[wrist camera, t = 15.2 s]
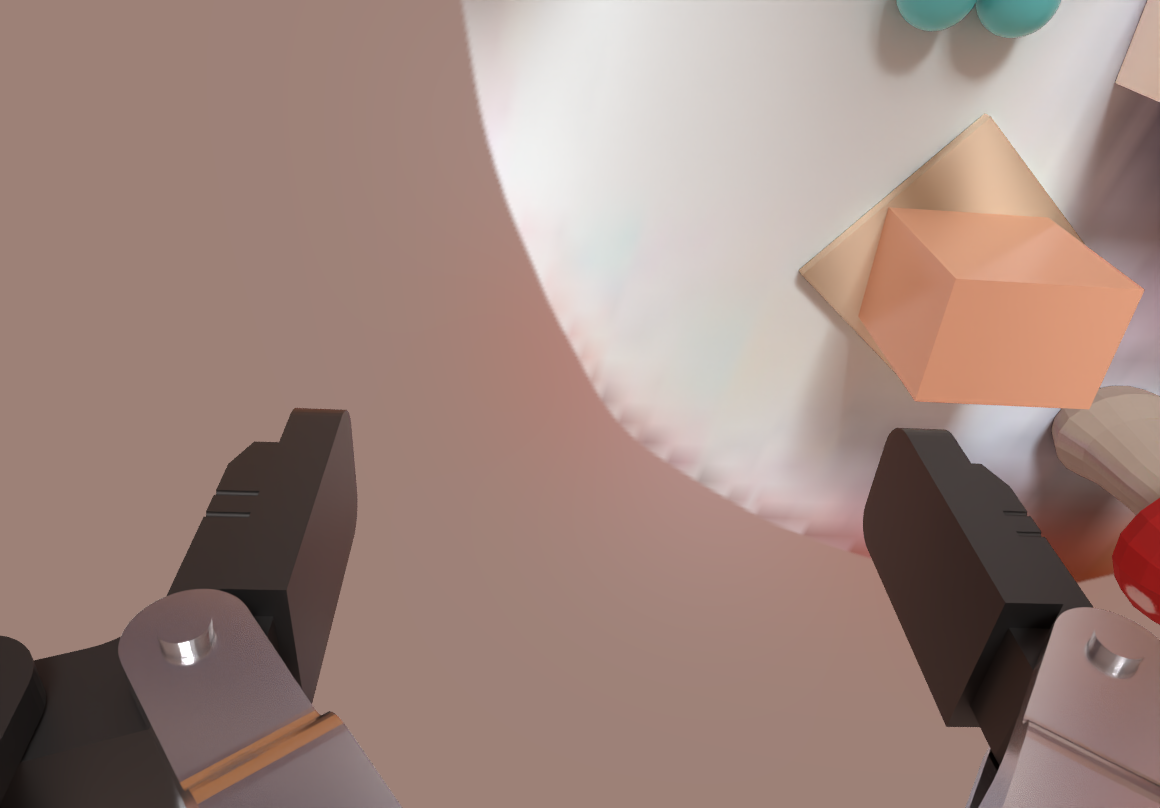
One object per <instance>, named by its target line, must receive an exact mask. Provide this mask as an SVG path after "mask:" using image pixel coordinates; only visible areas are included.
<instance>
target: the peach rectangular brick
mask: <svg viewBox="0 0 1160 808" xmlns="http://www.w3.org/2000/svg"><path fill="white" fill-rule="evenodd" d="M1143 292H1144V289H1143V288H1142V287H1140V286H1139V285H1138V284H1136V283H1135V282H1134V281H1132V280H1131V279H1130V278H1128V277H1127V276H1126V275H1124V274H1123V273H1122V272H1120V271H1119V270H1118V269H1116V268H1115V267H1114V266H1112V265H1111V264H1110V263H1108V262H1107V261H1106V260H1104V259H1103V258H1102V257H1100V256H1099V255H1098V254H1096V253H1095V252H1094V251H1092V250H1091V249H1090V248H1088V247H1087V246H1086V245H1084V244H1083V243H1082V242H1080V241H1079V240H1078V239H1076V238H1075V237H1074V236H1072V235H1071V234H1070V233H1068V232H1067V231H1066V230H1064V229H1063V228H1062V227H1060V226H1059V225H1058V224H1056V223H1055V222H1054V221H1052V220H1051V219H1050V218H1048V217H1033V216H1017V215H1002V214H986V213H971V212H955V211H940V210H924V209H909V208H893V207H888V211H887V214H886V218H885V222H884V225H883V229H882V232H881V236H880V240H879V243H878V247H877V250H876V254H875V258H874V261H873V265H872V268H871V272H870V276H869V279H868V283H867V286H866V290H865V294H864V297H863V301H862V304H861V308H860V312H859V315H858V317H859V318H860V320H861V321H862V323H863V324H864V326H865V327H866V329H867V330H868V332H869V333H870V335H871V336H872V338H873V339H874V341H875V342H876V344H877V345H878V347H879V348H880V350H881V351H882V353H883V354H884V356H885V357H886V359H887V360H888V362H889V363H890V365H891V366H892V368H893V369H894V371H895V372H896V374H897V375H898V377H899V378H900V380H901V381H902V383H903V384H904V386H905V387H906V389H907V390H908V392H909V393H910V395H911V396H912V398H913V399H914V401H918V402H940V403H961V404H983V405H1004V406H1026V407H1047V408H1069V409H1090V407H1091V405H1092V403H1093V400H1094V398H1095V396H1096V394H1097V392H1098V390H1099V387H1100V385H1101V383H1102V381H1103V379H1104V377H1105V374H1106V372H1107V370H1108V368H1109V366H1110V364H1111V361H1112V359H1113V357H1114V355H1115V353H1116V351H1117V348H1118V346H1119V344H1120V342H1121V340H1122V338H1123V335H1124V333H1125V331H1126V329H1127V327H1128V325H1129V322H1130V320H1131V318H1132V316H1133V314H1134V312H1135V310H1136V307H1137V305H1138V303H1139V301H1140V299H1141V297H1142V294H1143Z"/></svg>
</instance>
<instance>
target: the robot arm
mask: <svg viewBox="0 0 1160 808" xmlns="http://www.w3.org/2000/svg"><path fill="white" fill-rule="evenodd" d="M356 519H357V487H356V475H355V464H354V452H353V441H352V429H351V420H350V415H349V412H348V411H347V410H335V409H334V410H333V409H307V408H295V409H293V411H292V412H291V414H290V417H289V420H288V422H287V424H286V427H285V429H284V432H283V434H282V437H281V439H280V442H279V443H278V442H253V443H252V444H251V445H250V446H249V447H247V448H246V449H245V450H244V451H243V452H242V453H241V454H239V455H238V456H237V457H236V458H235V459H234V460H232V461H231V462H230V463H229V464H228V466H227V468H226V470H225V473H224V475H223V477H222V479H221V481H220V483H219V485H218V488H217V489H216V495H214V496H213V498H212V500H211V502H210V504H209V507H208V509H207V511H206V517H203V520H202V522H201V524H200V526H199V528H198V530H197V532H196V534H195V537H194V539H193V541H192V543H191V545H190V548H189V549H188V551H187V554H186V556H185V558H184V560H183V562H182V564H181V566H180V568H179V571H178V573H177V575H176V577H175V579H174V581H173V584H172V586H171V588H170V590H169V592H168V594H167V596H166V597H163V598H161V599H159V600H157V601H155V602H154V603H152V604H150V605H149V606H147V607H146V608H144V609H143V610H142V611H140V612H139V613H138V614H137V615H136V616H135V617H134V618H133V619H132V620H131V621H130V622H129V624H128V625H127V627H126V628H125V629H124V631H123V633H122V636H121V637H119V638H117V639H115V640H112V641H110V642H107V643H104V644H102V645H99V646H95V647H91V648H87V649H83V650H79V651H74V652H70V653H65V654H61V655H57V656H53V657H48V658H43V659H39V660H35V661H33V658H32V656H31V654H30V651H29V650H28V649H27V648H26V647H25V646H24V645H23V644H22V643H20V642H19V641H17V640H15V639H12V638H9V637H5V636H0V808H402V807H401V805H400V804H399V802H398V801H397V799H396V798H395V796H394V795H393V793H392V792H391V790H390V789H389V788H388V786H387V785H386V783H385V782H384V780H383V779H382V777H381V776H380V774H379V773H378V771H377V770H376V769H375V767H374V766H373V764H372V763H371V761H370V760H369V758H368V757H367V755H366V754H365V753H364V751H363V750H362V748H361V747H360V745H359V744H358V742H357V741H356V740H355V738H354V736H353V735H352V734H351V732H350V731H349V729H348V728H347V726H346V725H345V724H344V722H343V721H342V720H341V719H340V718H339V717H338V716H337V715H336V714H335V713H333V712H330V711H329V712H327V713H325V714H323V715H320V714H319V713H318V712H317V711H316V710H315V708H314V707H313V706H312V702H313V698H314V694H315V690H316V686H317V682H318V678H319V674H320V669H321V665H322V661H323V658H324V654H325V650H326V646H327V642H328V638H329V634H330V630H331V626H332V622H333V618H334V614H335V610H336V606H337V602H338V598H339V594H340V590H341V586H342V582H343V578H344V574H345V570H346V566H347V562H348V558H349V554H350V550H351V546H352V542H353V538H354V534H355V527H356ZM863 531H864V538H865V543H866V546H867V549H868V551H869V553H870V556H871V558H872V560H873V562H874V564H875V567H876V569H877V571H878V573H879V576H880V578H881V580H882V582H883V585H884V587H885V589H886V592H887V594H888V596H889V598H890V601H891V603H892V605H893V607H894V610H895V612H896V614H897V616H898V619H899V621H900V623H901V625H902V628H903V630H904V632H905V634H906V637H907V639H908V641H909V643H910V646H911V648H912V650H913V652H914V655H915V657H916V659H917V662H918V664H919V666H920V668H921V671H922V673H923V675H924V677H925V680H926V682H927V684H928V686H929V688H930V691H931V693H932V695H933V697H934V700H935V702H936V704H937V706H938V709H939V711H940V713H941V716H942V718H943V720H944V722H945V725H946V726H947V727H980V728H981V730H982V732H983V734H984V736H985V738H986V740H987V742H988V744H989V748H988V750H987V752H986V754H985V756H984V758H983V760H982V763H981V766H980V768H979V771H978V774H977V777H976V780H975V782H974V785H973V788H972V791H971V793H970V796H969V799H968V802H967V804H966V807H965V808H1160V640H1159V639H1158V638H1157V637H1156V636H1155V635H1154V634H1152V633H1151V632H1150V631H1148V630H1147V629H1146V628H1144V627H1143V626H1141V625H1139V624H1137V623H1136V622H1134V621H1132V620H1130V619H1128V618H1126V617H1124V616H1122V615H1119V614H1116V613H1114V612H1111V611H1107V610H1103V609H1098V608H1093V606H1092V604H1091V603H1090V602H1089V600H1088V599H1087V597H1086V596H1085V594H1084V593H1083V591H1082V590H1081V589H1080V587H1079V586H1078V584H1077V583H1076V581H1075V580H1074V578H1073V577H1072V576H1071V574H1070V573H1069V571H1068V570H1067V568H1066V567H1065V565H1064V564H1063V563H1062V561H1061V560H1060V558H1059V557H1058V555H1057V554H1056V553H1055V551H1054V550H1053V548H1052V547H1051V545H1050V544H1049V542H1048V541H1047V540H1046V538H1045V537H1041V531H1040V529H1039V528H1038V527H1037V525H1036V524H1035V522H1034V521H1033V519H1032V518H1031V516H1027V511H1026V509H1025V508H1024V506H1023V505H1022V503H1021V502H1020V501H1019V499H1018V498H1017V496H1016V495H1015V493H1014V492H1013V490H1012V489H1011V488H1010V486H1009V485H1007V484H1006V483H1005V482H1003V481H1002V480H1001V479H1000V478H998V477H997V476H996V475H995V474H993V473H992V472H991V471H989V470H988V469H987V468H986V467H984V466H983V465H982V464H971V462H970V461H969V459H968V458H967V456H966V455H965V453H964V452H963V450H962V449H961V447H960V446H959V444H958V443H957V441H956V440H955V438H954V437H953V435H952V434H951V433H950V432H949V431H947V430H938V429H910V428H896V429H894V430H893V431H892V432H891V433H890V434H889V436H888V438H887V441H886V443H885V446H884V450H883V453H882V456H881V459H880V462H879V465H878V468H877V471H876V474H875V477H874V480H873V483H872V486H871V490H870V493H869V496H868V499H867V502H866V505H865V509H864V516H863Z"/></svg>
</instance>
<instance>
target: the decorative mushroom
mask: <svg viewBox="0 0 1160 808" xmlns="http://www.w3.org/2000/svg"><path fill="white" fill-rule="evenodd" d="M1051 431H1052V436H1053V440H1054V444H1055V448H1056V452H1057V456H1058V459H1059V460H1060V461H1061V462H1062V463H1063V465H1064V466H1065V467H1066V468H1067V469H1069V470H1071V471H1073V472H1074V473H1076V474H1078V475H1080V476H1082V477H1084V478H1086V479H1089V480H1091V481H1093V482H1095V483H1097V484H1098V485H1099V486H1101V487H1102V488H1104V489H1105V490H1106V491H1108V492H1109V493H1111V494H1112V495H1113V496H1114V497H1115V498H1117V499H1118V500H1119V501H1120V502H1122V503H1123V504H1124V505H1125V506H1127V507H1128V508H1129V509H1130V510H1131V511H1132V512H1133V513H1134V514H1135V515H1136V516H1135V518H1134V519H1133V520H1132V521H1131V522H1130V523H1129V525H1128V526H1127V527H1126V528H1125V529H1124V530H1123V532H1122V533H1121V534H1120V537H1119V539H1118V542H1117V544H1116V547H1115V550H1114V552H1113V555H1112V559H1113V568H1114V576H1115V578H1116V580H1117V582H1118V584H1119V586H1120V588H1121V590H1122V591H1123V593H1124V594H1125V595H1126V597H1127V598H1128V599H1129V601H1130V602H1131V603H1132V605H1133V606H1134V607H1135V608H1137V609H1138V610H1139V611H1140V612H1142V613H1143V614H1144V615H1146V616H1147V617H1148V618H1150V619H1151V620H1152V621H1154V622H1156V623H1158V624H1159V625H1160V396H1158V395H1156V394H1153V393H1151V392H1148V391H1146V390H1143V389H1139V388H1135V387H1131V386H1109V387H1104V388H1099V390H1098V392H1097V394H1096V396H1095V398H1094V400H1093V403H1092V405H1091V407H1090V409H1069V408H1062V409H1061V410H1060V411H1059V413H1058V414H1057V415H1056V417H1055V418H1054V422H1053V425H1052V429H1051Z"/></svg>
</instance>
